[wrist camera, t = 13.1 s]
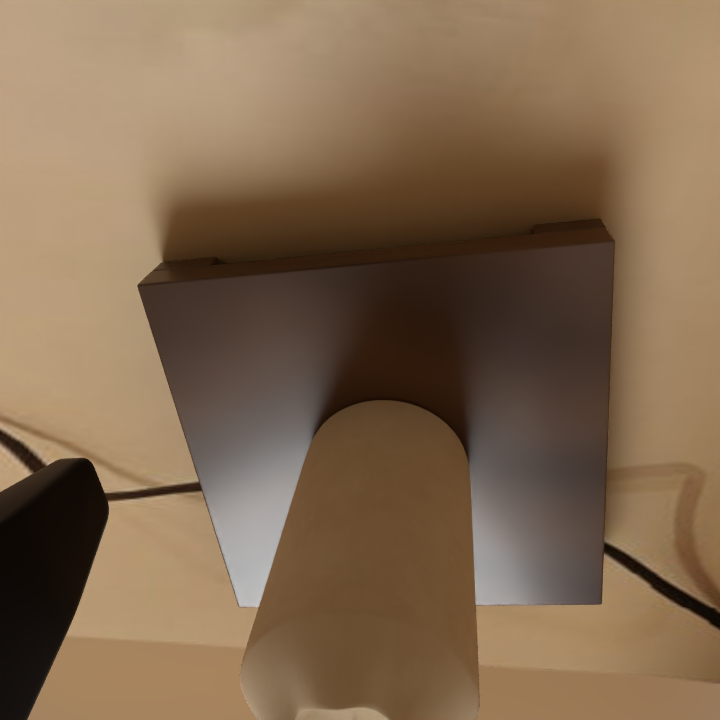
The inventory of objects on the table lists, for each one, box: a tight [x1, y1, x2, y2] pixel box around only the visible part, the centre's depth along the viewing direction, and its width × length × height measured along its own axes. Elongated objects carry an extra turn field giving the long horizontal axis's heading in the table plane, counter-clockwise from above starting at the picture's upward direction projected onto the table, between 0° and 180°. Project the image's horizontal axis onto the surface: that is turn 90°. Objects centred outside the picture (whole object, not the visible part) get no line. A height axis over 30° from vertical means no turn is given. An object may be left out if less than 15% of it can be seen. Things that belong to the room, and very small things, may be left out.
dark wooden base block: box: [138, 219, 615, 607], centre depth 24 cm, size 14×14×2 cm
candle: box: [240, 400, 480, 720], centre depth 18 cm, size 6×6×10 cm
